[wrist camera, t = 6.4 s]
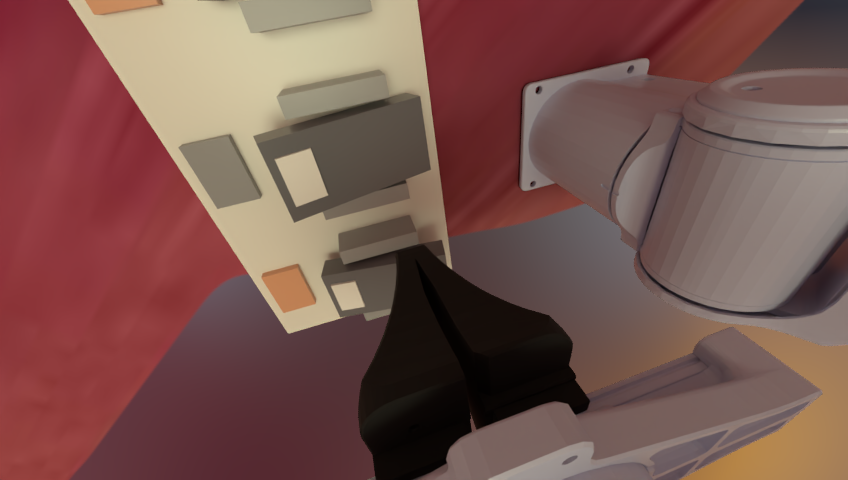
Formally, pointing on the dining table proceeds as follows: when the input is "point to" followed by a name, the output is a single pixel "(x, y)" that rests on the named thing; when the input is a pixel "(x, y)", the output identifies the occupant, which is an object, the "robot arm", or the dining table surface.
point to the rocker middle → (346, 154)
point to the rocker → (367, 281)
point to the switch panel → (275, 122)
